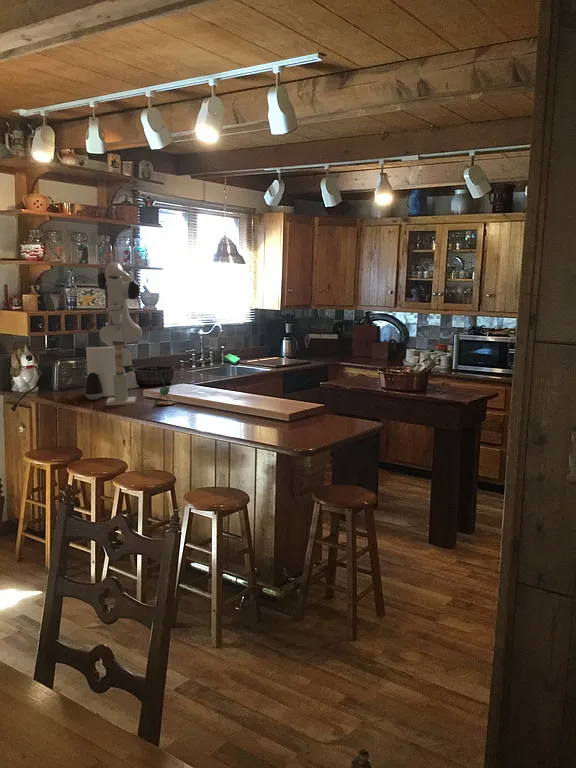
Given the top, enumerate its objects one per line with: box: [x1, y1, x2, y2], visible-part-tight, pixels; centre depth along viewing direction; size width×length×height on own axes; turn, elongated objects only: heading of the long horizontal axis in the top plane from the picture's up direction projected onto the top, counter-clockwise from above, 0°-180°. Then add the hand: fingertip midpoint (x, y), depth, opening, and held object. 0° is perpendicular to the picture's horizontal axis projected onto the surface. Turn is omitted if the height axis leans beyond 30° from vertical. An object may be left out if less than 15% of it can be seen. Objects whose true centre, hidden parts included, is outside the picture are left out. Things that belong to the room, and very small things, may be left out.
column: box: [113, 341, 125, 375], centre depth 372 cm, size 6×6×26 cm
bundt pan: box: [132, 365, 175, 386], centre depth 438 cm, size 26×26×10 cm
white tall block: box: [85, 346, 116, 398], centre depth 400 cm, size 17×17×28 cm
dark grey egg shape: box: [83, 372, 103, 401], centre depth 386 cm, size 10×10×15 cm
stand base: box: [105, 373, 137, 406], centre depth 375 cm, size 15×15×16 cm
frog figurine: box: [152, 380, 177, 409], centre depth 366 cm, size 10×18×15 cm, turn 138°
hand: (117, 331), depth 370 cm, fingers open, 8 cm apart
